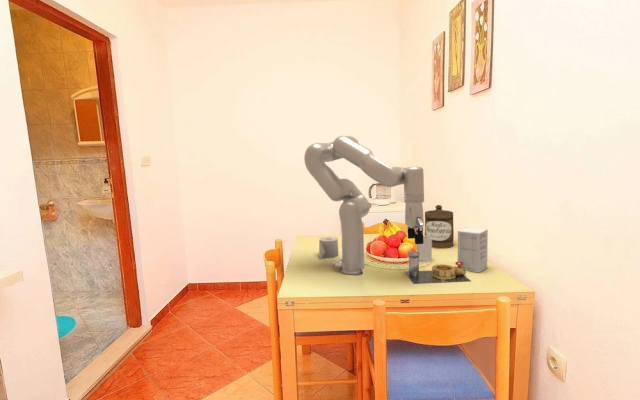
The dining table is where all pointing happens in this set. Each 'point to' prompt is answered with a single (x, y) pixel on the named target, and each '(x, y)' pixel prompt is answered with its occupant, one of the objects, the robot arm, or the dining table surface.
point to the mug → (425, 249)
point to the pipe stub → (413, 263)
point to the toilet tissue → (328, 247)
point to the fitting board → (431, 279)
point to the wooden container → (439, 227)
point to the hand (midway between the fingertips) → (415, 241)
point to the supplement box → (473, 249)
